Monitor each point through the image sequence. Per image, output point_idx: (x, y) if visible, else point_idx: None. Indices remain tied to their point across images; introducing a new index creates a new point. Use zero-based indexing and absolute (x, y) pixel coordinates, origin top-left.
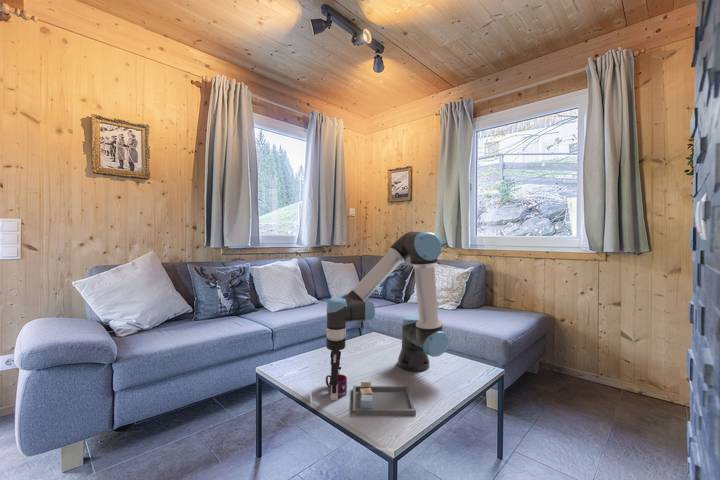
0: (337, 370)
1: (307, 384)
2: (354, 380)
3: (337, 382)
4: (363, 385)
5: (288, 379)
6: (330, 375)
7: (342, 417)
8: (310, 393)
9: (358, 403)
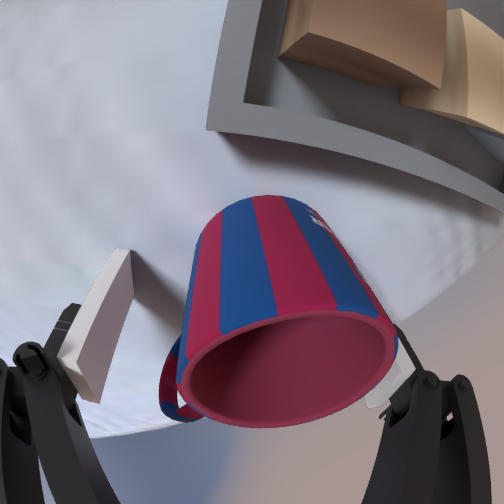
0: (488, 479)
1: (130, 387)
2: (24, 120)
3: (466, 390)
4: (413, 40)
5: (108, 417)
6: (182, 414)
7: (478, 250)
8: None
9: (446, 140)
